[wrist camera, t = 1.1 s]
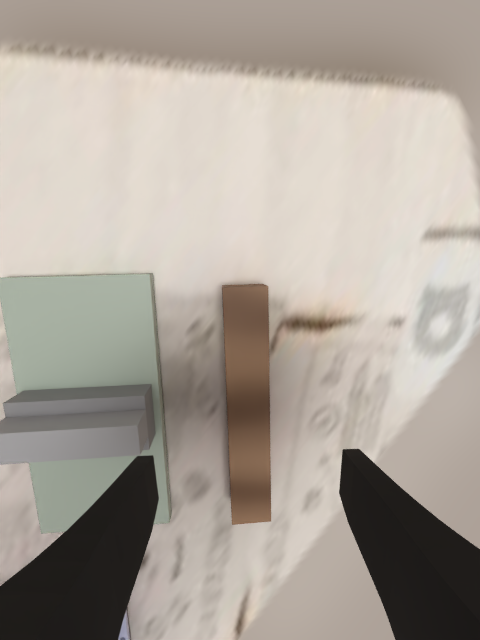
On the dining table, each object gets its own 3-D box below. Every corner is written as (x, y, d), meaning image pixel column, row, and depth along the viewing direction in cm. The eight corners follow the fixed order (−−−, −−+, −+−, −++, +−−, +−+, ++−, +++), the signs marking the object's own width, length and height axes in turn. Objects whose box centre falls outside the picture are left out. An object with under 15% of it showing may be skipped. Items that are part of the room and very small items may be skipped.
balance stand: (171, 512, 24) (159, 574, 19) (48, 522, 24) (4, 589, 19) (152, 273, 21) (132, 275, 16) (7, 277, 20) (-61, 280, 15)
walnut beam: (265, 491, 25) (271, 521, 22) (230, 494, 25) (232, 524, 22) (261, 283, 22) (268, 286, 19) (222, 285, 22) (222, 287, 19)
